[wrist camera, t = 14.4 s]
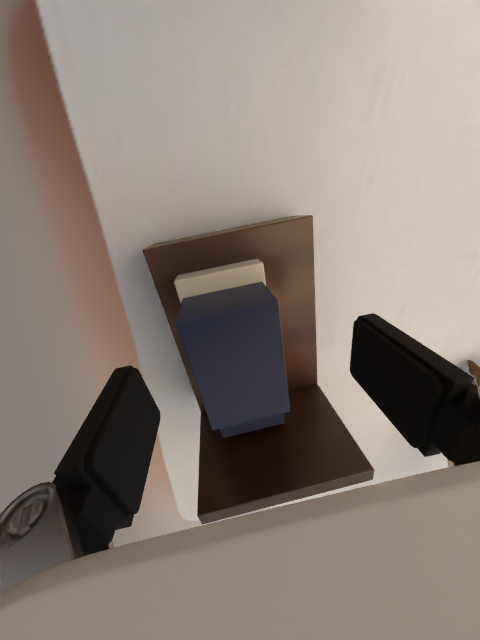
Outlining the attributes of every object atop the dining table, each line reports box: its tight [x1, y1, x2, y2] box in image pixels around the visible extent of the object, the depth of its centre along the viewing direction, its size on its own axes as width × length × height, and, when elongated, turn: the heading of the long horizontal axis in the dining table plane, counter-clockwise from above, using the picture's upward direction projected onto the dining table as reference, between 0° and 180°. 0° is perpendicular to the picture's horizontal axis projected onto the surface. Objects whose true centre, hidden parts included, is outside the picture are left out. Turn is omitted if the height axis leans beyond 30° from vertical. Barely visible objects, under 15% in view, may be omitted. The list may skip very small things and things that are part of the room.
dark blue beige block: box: [174, 259, 290, 438], centre depth 14 cm, size 11×5×5 cm, turn 10°
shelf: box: [143, 215, 374, 524], centre depth 14 cm, size 14×10×10 cm
